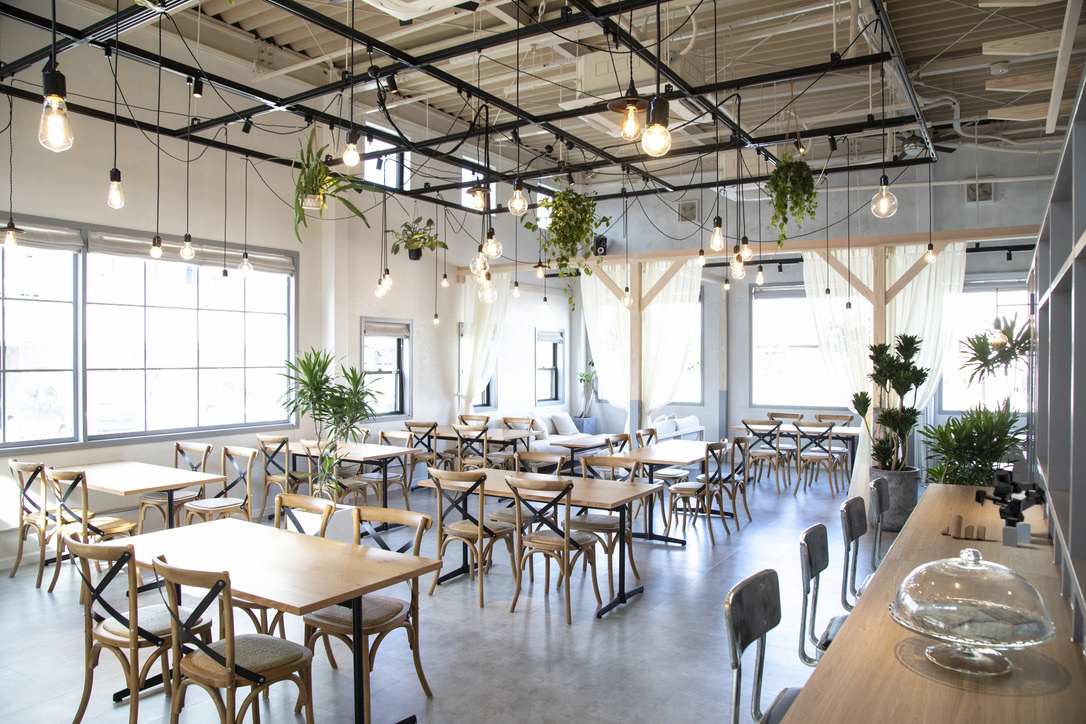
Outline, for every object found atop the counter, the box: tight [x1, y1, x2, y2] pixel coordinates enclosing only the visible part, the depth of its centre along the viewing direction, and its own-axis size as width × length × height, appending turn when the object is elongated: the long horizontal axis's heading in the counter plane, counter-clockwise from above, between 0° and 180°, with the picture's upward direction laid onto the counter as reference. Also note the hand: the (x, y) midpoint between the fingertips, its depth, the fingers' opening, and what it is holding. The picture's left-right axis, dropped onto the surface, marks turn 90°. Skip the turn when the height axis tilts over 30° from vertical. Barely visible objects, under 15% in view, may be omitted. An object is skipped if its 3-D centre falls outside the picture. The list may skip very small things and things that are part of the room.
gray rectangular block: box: [1002, 525, 1018, 548], centre depth 321 cm, size 5×5×8 cm
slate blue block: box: [1016, 522, 1032, 544], centre depth 329 cm, size 5×5×8 cm
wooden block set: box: [940, 514, 987, 541], centre depth 336 cm, size 18×9×10 cm, turn 52°
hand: (992, 508), depth 332 cm, fingers open, 9 cm apart
